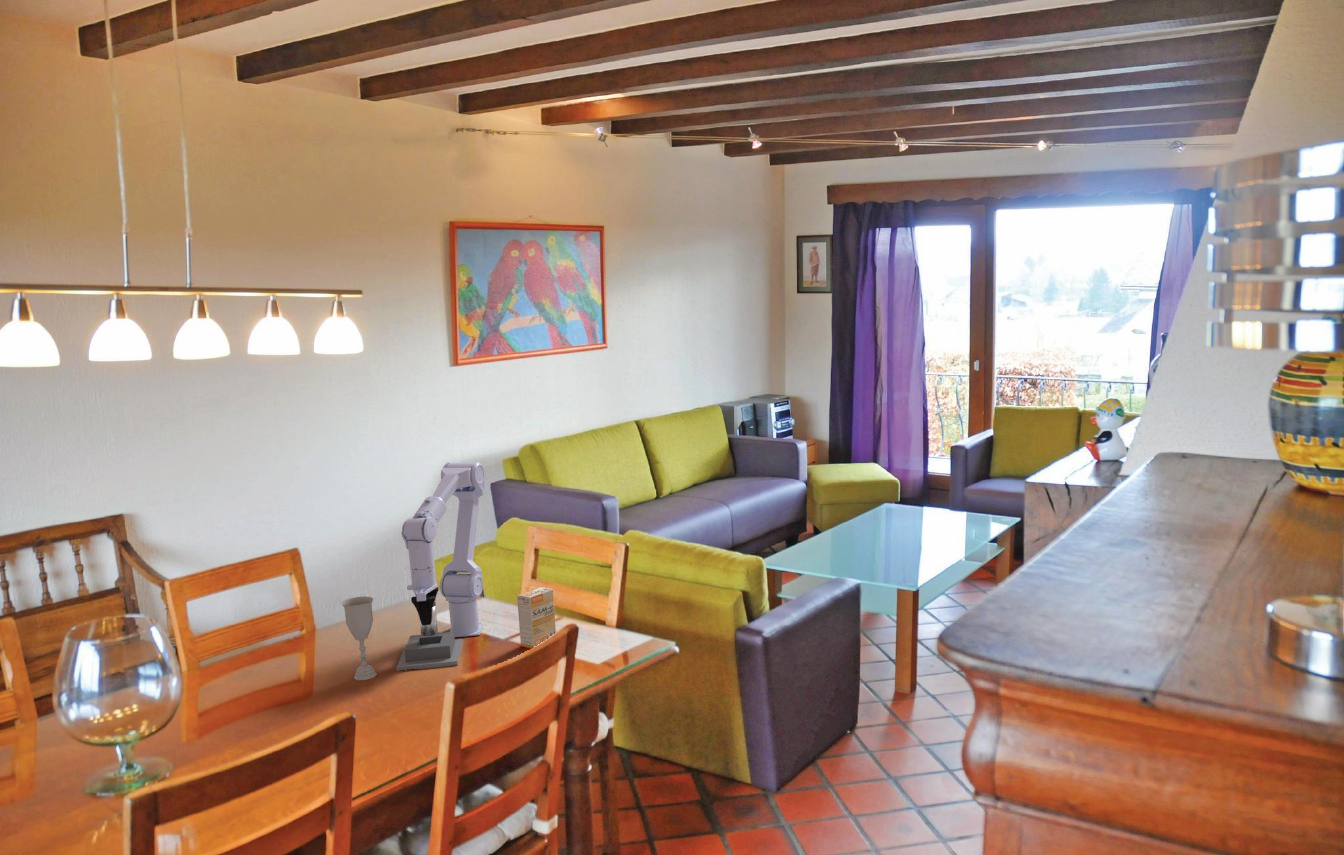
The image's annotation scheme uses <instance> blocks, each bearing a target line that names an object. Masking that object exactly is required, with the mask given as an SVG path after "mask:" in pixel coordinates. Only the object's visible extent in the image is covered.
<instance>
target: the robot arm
mask: <svg viewBox="0 0 1344 855" xmlns="http://www.w3.org/2000/svg"><path fill="white" fill-rule="evenodd" d="M485 483H486V471H485V469H484V466H483V464H481V462H479V461H478V462H477V461H476V462H446V463H445V464H444V465H443V467H442V469H441V470H440V482H439V484H438V485H437V488H436V490H435V491H434V493H433V494H432V496H428V497H425V499H424V500H423V502H422V503H421V504H420V506H419V507H418V509H417V511H416V512H415V514H414V515H413V516H412V517H409V518H407V519H406V520H405V521H404V522H403V524H402V528H401V529H402V530H401V532H400V533H401V537H402V539H403V541H404V543H405V548H406V549H407V551H408V558H409V560H408V561H409V568H410V579H411V584H409V585H407V586H406V590H407V591H412V592H413V593H414V594H415V596H411V598H410V601H411V603H412V605H413V606H414V608H415V609H416V612H417V614H418V617H419V622H420V621H421V624H422V625H431V622H432V609H433V603H434V600H435V601H436V599H437V594H438V592H439V591H440V594H441V596H442V597H444V599H445V601H447V602H448V612H449V620H450V629H449V632H453V631H454V639H455V638H462V637H463V638H464V637H472V636H480V635H481V632H482V628H483V621H480V618H479V607H478V598H479V597H480V596H481V594H482V592H483V589H484V581H483V570H482V569H481V567H479V565H477V563H476V562H474V555H475V547H476V537H477V525H478V517H479V509H480V500H481V499H480V498H481V497H482V496H484V492H485ZM452 496H454V497H457V499H458V511H457V519H456V520H457V521H456V531H455V539H454V548H453V558H452V560H451V561H450V562H449V563H448V564H447V565H445V566H444V568H443V572H442V575H441V578H440V581H439V587H438V582H437V576H436V565H435V555H434V544H433V541H434V539H435V538H436V536H437V535H436V534H437V530H438V526H439V524H438V523H439V522H440V520H441V519H442V518H443V516H444V514H445V513H446V511H447V507H446V503H447V502H448V501H449V499H451V497H452Z"/></svg>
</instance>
